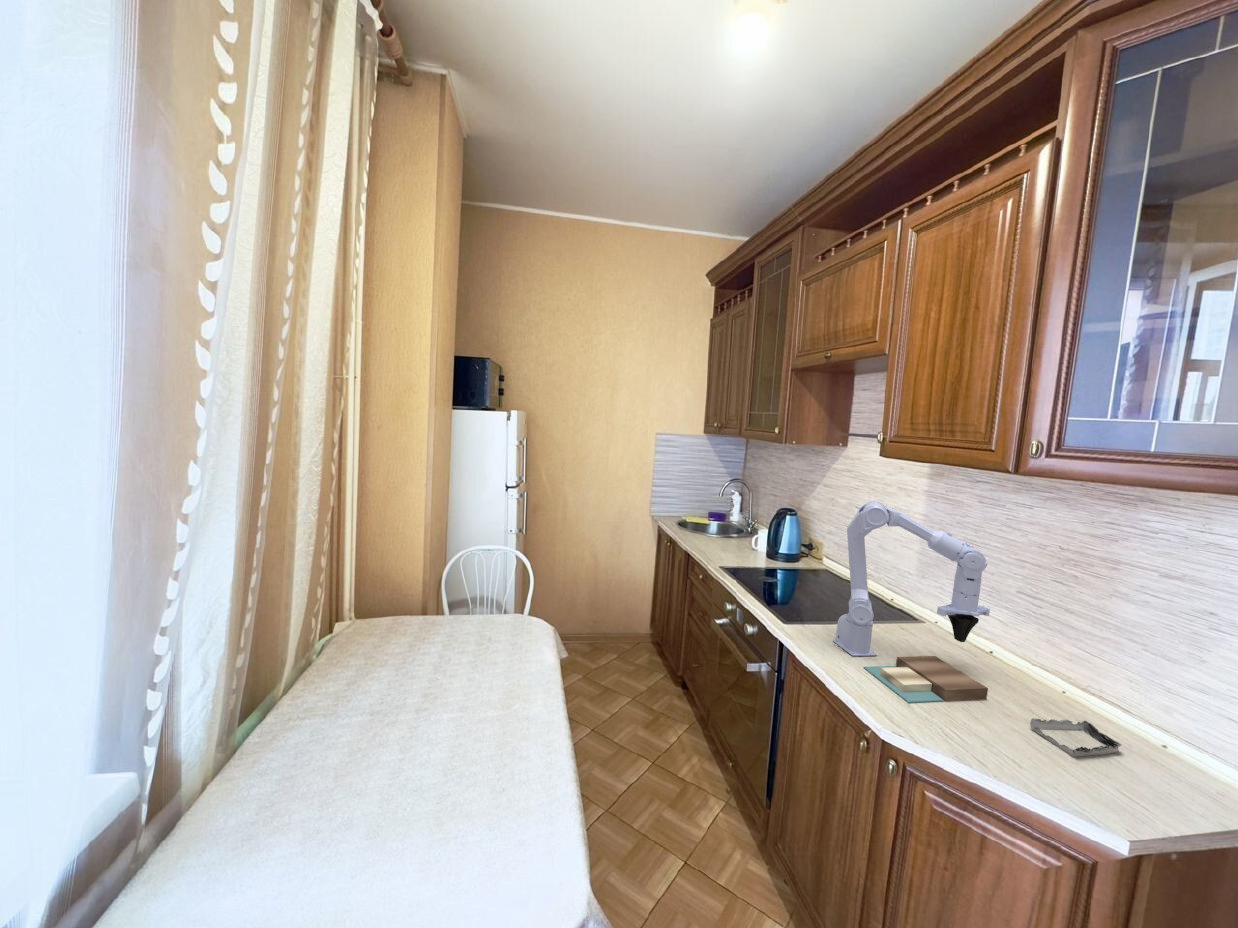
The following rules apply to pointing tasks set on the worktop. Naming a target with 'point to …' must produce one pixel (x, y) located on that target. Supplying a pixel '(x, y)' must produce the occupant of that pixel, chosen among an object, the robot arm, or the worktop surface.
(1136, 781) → the worktop surface
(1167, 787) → the worktop surface
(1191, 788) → the worktop surface
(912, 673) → the cream square slab
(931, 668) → the walnut board
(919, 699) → the rubber mat
